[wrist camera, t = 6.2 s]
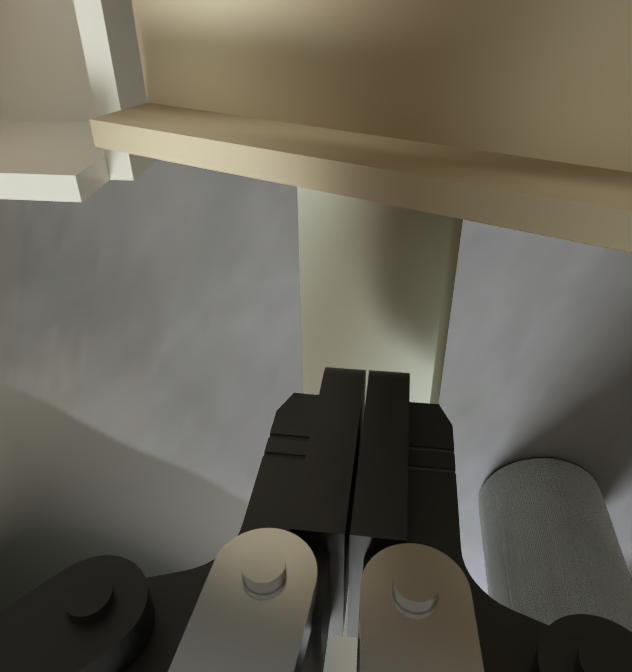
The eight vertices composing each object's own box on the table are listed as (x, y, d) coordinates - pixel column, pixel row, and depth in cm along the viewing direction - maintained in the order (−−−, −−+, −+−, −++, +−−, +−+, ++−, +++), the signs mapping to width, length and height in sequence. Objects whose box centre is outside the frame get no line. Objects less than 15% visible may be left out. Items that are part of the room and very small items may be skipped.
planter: (471, 531, 25) (502, 840, 16) (485, 451, 22) (530, 767, 14) (586, 541, 24) (680, 867, 16) (613, 460, 22) (742, 796, 13)
